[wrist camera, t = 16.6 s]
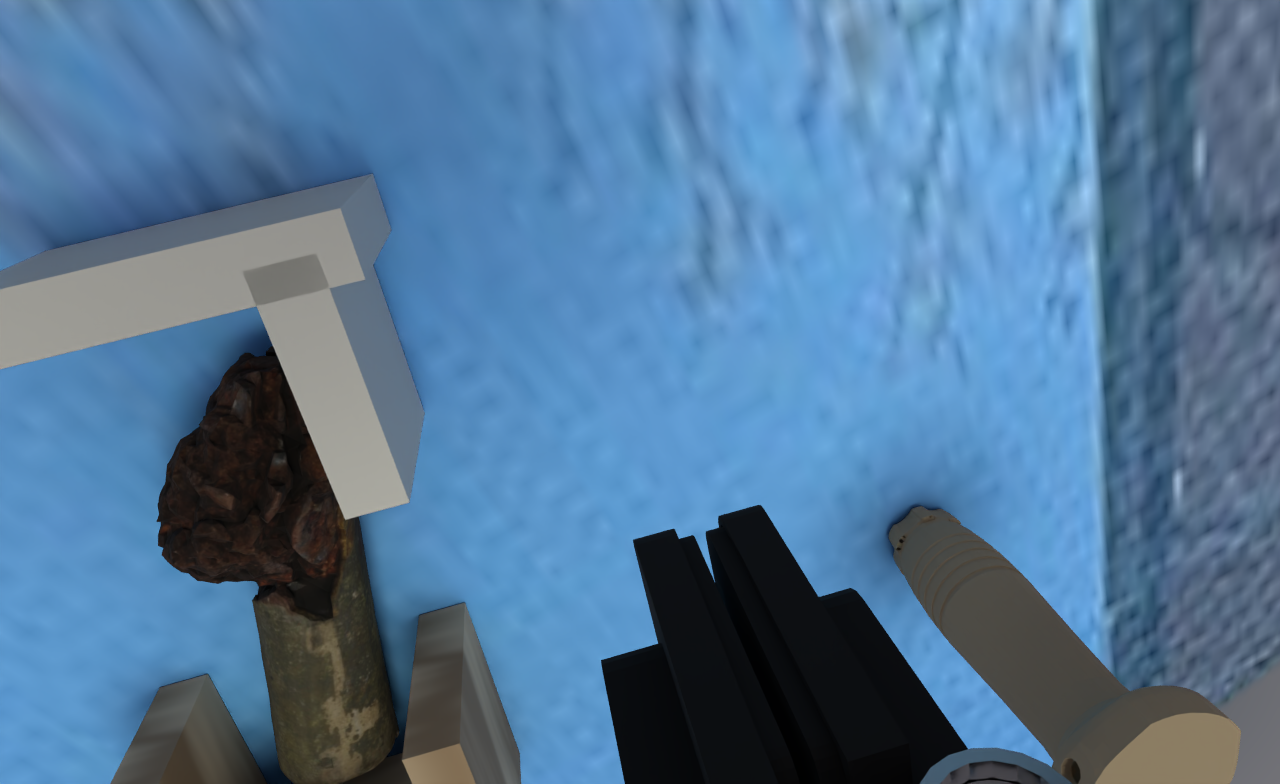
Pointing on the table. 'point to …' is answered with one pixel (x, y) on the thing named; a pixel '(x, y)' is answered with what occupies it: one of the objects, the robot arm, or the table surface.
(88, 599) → the table surface
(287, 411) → the brown lumpy-headed club
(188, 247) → the sliding end cap
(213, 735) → the oak end cap
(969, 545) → the handle
